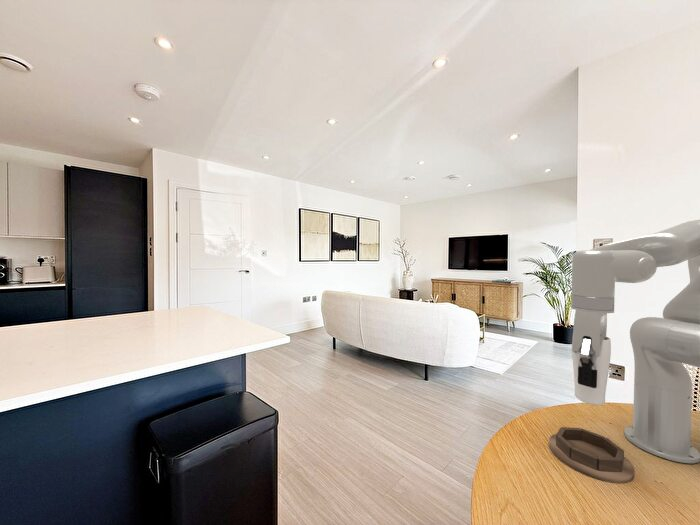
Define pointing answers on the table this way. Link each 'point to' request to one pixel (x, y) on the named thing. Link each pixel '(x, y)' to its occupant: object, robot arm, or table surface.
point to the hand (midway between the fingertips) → (589, 380)
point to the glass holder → (591, 455)
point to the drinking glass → (602, 366)
